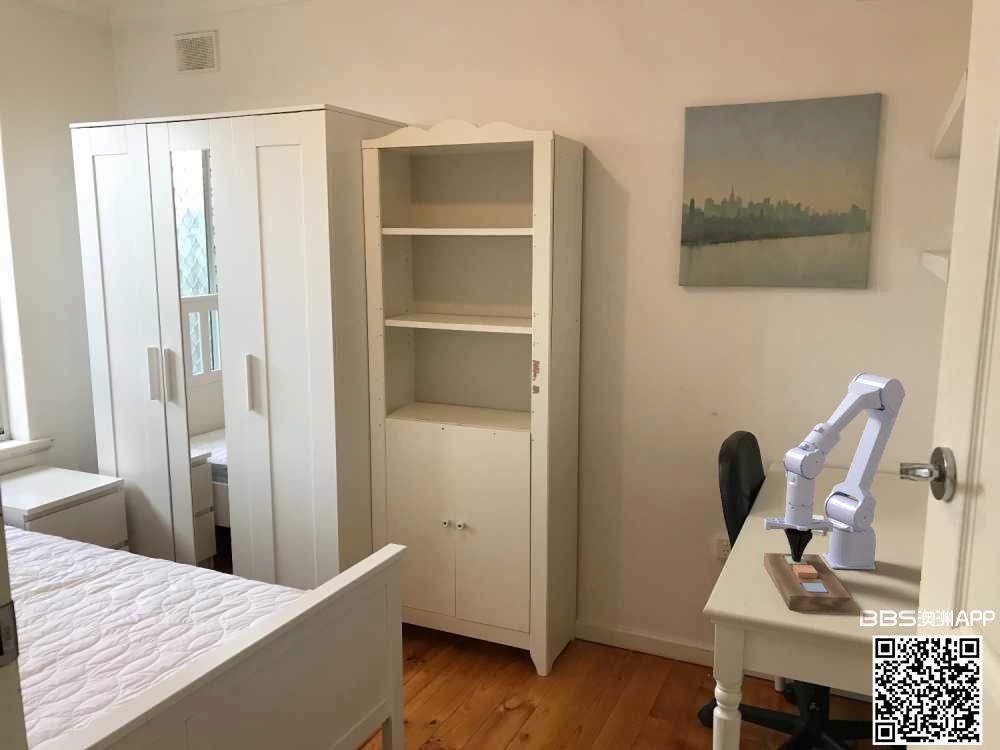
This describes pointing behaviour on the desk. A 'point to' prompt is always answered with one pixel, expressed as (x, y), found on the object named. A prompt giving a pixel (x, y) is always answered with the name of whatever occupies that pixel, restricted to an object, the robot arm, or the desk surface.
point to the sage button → (791, 562)
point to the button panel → (793, 587)
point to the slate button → (814, 588)
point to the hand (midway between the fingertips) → (795, 560)
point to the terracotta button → (805, 571)
